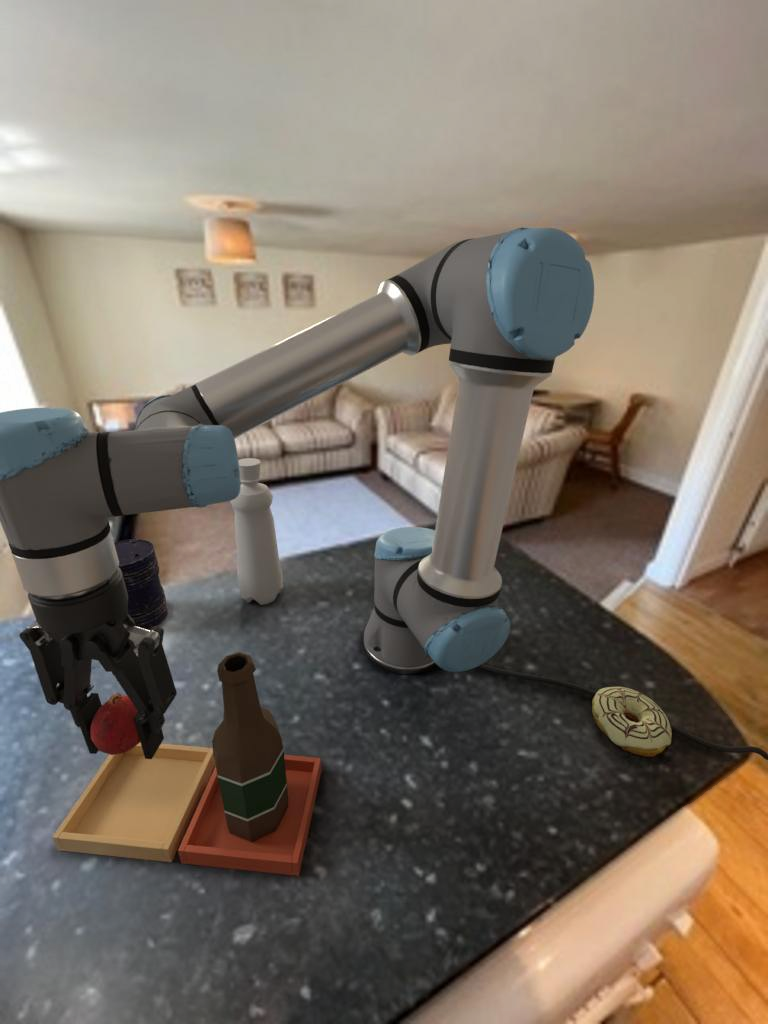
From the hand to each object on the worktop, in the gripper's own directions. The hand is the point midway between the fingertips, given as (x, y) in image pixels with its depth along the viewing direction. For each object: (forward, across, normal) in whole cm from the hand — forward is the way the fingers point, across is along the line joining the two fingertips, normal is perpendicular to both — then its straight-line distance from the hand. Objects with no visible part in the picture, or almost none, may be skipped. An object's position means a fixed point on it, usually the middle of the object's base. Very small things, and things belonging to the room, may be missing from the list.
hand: (127, 745), depth 52 cm
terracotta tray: (+10, -14, 0) cm, 18 cm away
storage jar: (+10, +20, -34) cm, 41 cm away
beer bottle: (+10, -14, 0) cm, 18 cm away
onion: (0, 0, 0) cm, 0 cm away
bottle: (+10, 0, -44) cm, 45 cm away
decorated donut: (+10, -66, -17) cm, 69 cm away
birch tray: (+10, 0, 0) cm, 10 cm away
